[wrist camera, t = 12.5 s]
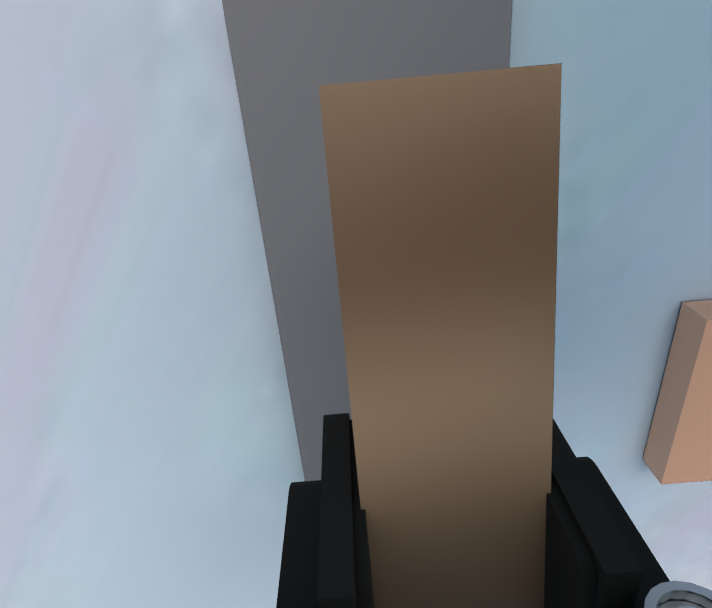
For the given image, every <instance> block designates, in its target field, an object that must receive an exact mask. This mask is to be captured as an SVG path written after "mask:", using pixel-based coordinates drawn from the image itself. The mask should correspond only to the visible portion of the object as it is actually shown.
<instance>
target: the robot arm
mask: <svg viewBox="0 0 712 608" xmlns="http://www.w3.org/2000/svg"><path fill="white" fill-rule="evenodd" d="M276 608H375V605H374V595H373V584H372V574H371V564H370V553H369V543H368V533H367V522H366V512H365V509H362V510H361V506H360V496H359V486H358V476H357V466H356V456H355V446H354V436H353V426H352V419H351V420H350V416H349V413H340V414H329V415H324V416H323V439H322V468H321V480H315V481H304V482H293V483H291V484H290V488H289V496H288V505H287V514H286V523H285V533H284V542H283V551H282V560H281V570H280V579H279V588H278V598H277V607H276ZM544 608H712V591H711V590H709V589H707V588H704V587H701V586H698V585H696V584H693V583H688V582H681V581H669V579H668V577H667V576H666V574H665V573H664V571H663V570H662V568H661V566H660V565H659V563H658V562H657V560H656V559H655V557H654V555H653V554H652V552H651V551H650V549H649V548H648V546H647V544H646V543H645V541H644V540H643V538H642V536H641V535H640V533H639V532H638V530H637V529H636V527H635V525H634V524H633V522H632V521H631V519H630V518H629V516H628V514H627V513H626V511H625V510H624V508H623V506H622V505H621V503H620V502H619V500H618V499H617V497H616V495H615V494H614V492H613V491H612V489H611V488H610V486H609V484H608V483H607V481H606V480H605V478H604V477H603V475H602V473H601V472H600V470H599V469H598V467H597V466H596V464H595V463H594V462H593V460H592V459H590V458H589V457H577V458H576V456H575V455H574V453H573V451H572V450H571V448H570V446H569V444H568V443H567V441H566V439H565V438H564V436H563V434H562V433H561V431H560V429H559V428H558V426H557V424H556V423H555V421H554V419H553V427H552V467H551V493H546V536H545V581H544Z"/></svg>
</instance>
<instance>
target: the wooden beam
mask: <svg viewBox="0 0 712 608" xmlns="http://www.w3.org/2000/svg"><path fill="white" fill-rule="evenodd" d="M561 66H562V63H559V64H548V65H537V66H526V67H515V68H504V69H493V70H483V71H472V72H461V73H450V74H439V75H428V76H417V77H406V78H395V79H384V80H373V81H362V82H351V83H340V84H329V85H319V95H320V105H321V115H322V125H323V135H324V145H325V155H326V165H327V175H328V185H329V195H330V205H331V215H332V225H333V235H334V245H335V255H336V265H337V275H338V285H339V295H340V305H341V315H342V325H343V335H344V345H345V356H346V366H347V376H348V386H349V396H350V406H351V416H352V426H353V436H354V446H355V456H356V466H357V476H358V486H359V496H360V506H361V510H362V509H365V512H366V522H367V533H368V543H369V553H370V564H371V574H372V584H373V595H374V605H375V608H544V581H545V536H546V493H551V467H552V427H553V387H554V346H555V306H556V266H557V226H558V186H559V146H560V106H561Z"/></svg>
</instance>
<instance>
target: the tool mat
mask: <svg viewBox="0 0 712 608" xmlns="http://www.w3.org/2000/svg"><path fill="white" fill-rule="evenodd" d="M222 3H223V9H224V15H225V21H226V27H227V32H228V38H229V44H230V50H231V56H232V61H233V67H234V73H235V79H236V84H237V90H238V96H239V102H240V108H241V113H242V119H243V125H244V131H245V137H246V142H247V148H248V154H249V160H250V165H251V171H252V177H253V183H254V189H255V194H256V200H257V206H258V212H259V218H260V223H261V229H262V235H263V241H264V246H265V252H266V258H267V264H268V270H269V275H270V281H271V287H272V293H273V298H274V304H275V310H276V316H277V322H278V327H279V333H280V339H281V345H282V351H283V356H284V362H285V368H286V374H287V379H288V385H289V391H290V397H291V403H292V408H293V414H294V420H295V426H296V432H297V437H298V443H299V449H300V455H301V460H302V466H303V472H304V478H305V481H315V480H321V468H322V439H323V416H324V415H329V414H340V413H349V416H350V420H351V419H352V416H351V406H350V396H349V386H348V376H347V366H346V356H345V345H344V335H343V325H342V315H341V305H340V295H339V285H338V275H337V265H336V255H335V245H334V235H333V225H332V215H331V205H330V195H329V185H328V175H327V165H326V155H325V145H324V135H323V125H322V115H321V105H320V95H319V85H329V84H340V83H351V82H362V81H373V80H384V79H395V78H406V77H417V76H428V75H439V74H450V73H461V72H472V71H483V70H493V69H504V68H509V56H510V36H511V16H512V0H222Z"/></svg>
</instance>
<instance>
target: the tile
mask: <svg viewBox="0 0 712 608" xmlns="http://www.w3.org/2000/svg"><path fill="white" fill-rule="evenodd" d="M643 461H644V462H645V463H646V465H647V466H648V467H649V469H650V470H651V471H652V473H653V474H654V475H655V477H656V478H657V479H658V481H659V482H660V483H661V484H671V483H683V482H696V481H709V480H712V300H702V301H689V302H682V306H681V310H680V314H679V318H678V322H677V326H676V330H675V334H674V338H673V341H672V345H671V349H670V353H669V357H668V361H667V365H666V369H665V373H664V377H663V381H662V385H661V389H660V393H659V397H658V401H657V405H656V409H655V413H654V417H653V421H652V425H651V429H650V433H649V437H648V441H647V445H646V449H645V453H644V457H643Z"/></svg>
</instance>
